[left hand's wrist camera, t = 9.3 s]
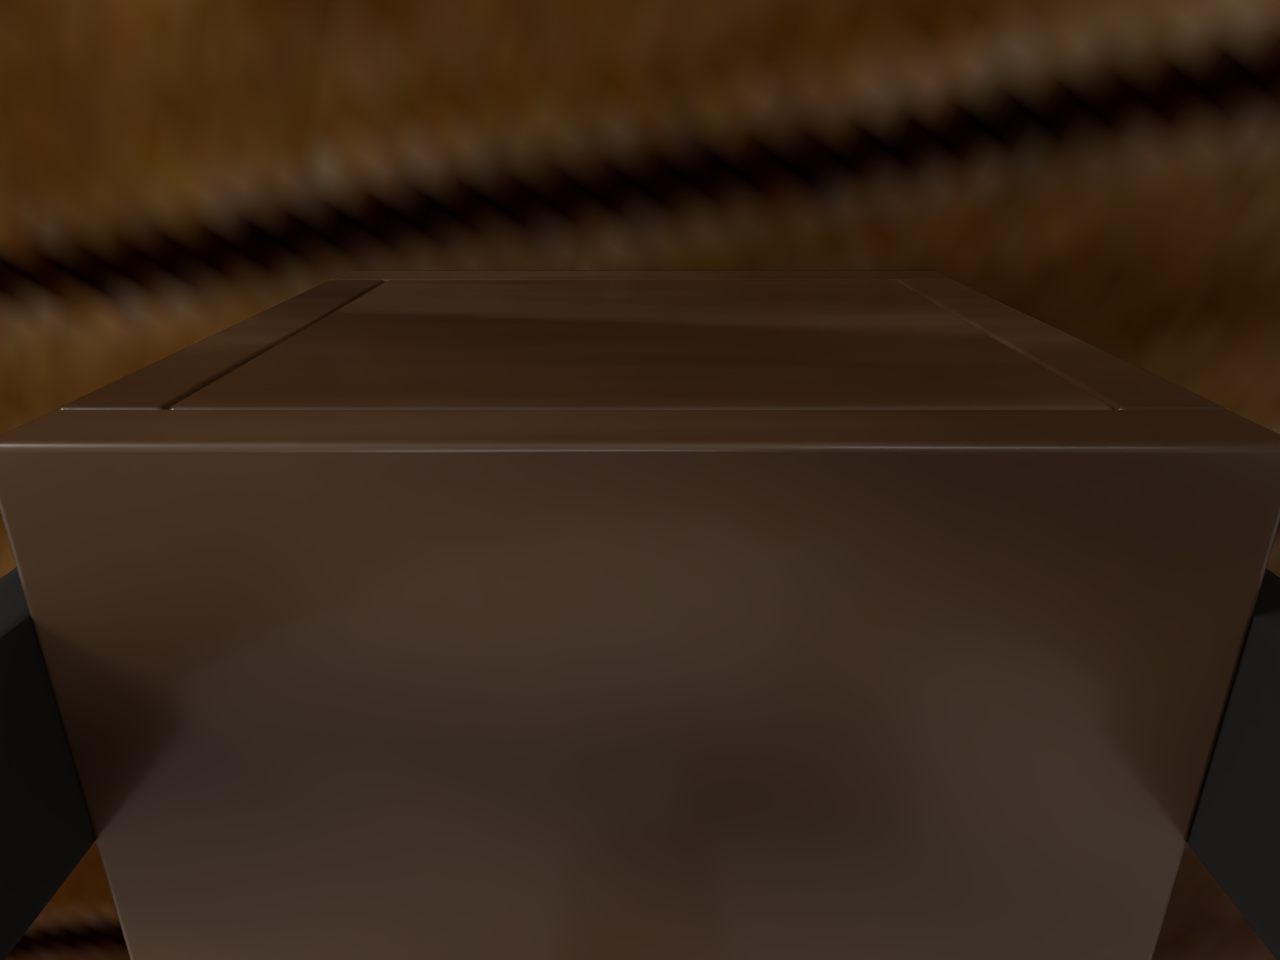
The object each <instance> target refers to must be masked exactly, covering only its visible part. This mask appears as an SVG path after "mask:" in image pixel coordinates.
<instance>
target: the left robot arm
mask: <svg viewBox="0 0 1280 960" xmlns="http://www.w3.org/2000/svg"><path fill="white" fill-rule="evenodd" d="M95 840H96V839H95V835H94V832H93V828H92V825H91V822H90V818H89V815H88V811H87V808H86V804H85V801H84V797H83V794H82V791H81V787H80V784H79V780H78V777H77V773H76V770H75V767H74V763H73V760H72V756H71V753H70V749H69V746H68V743H67V739H66V736H65V732H64V729H63V725H62V722H61V718H60V715H59V712H58V708H57V705H56V701H55V698H54V694H53V691H52V688H51V684H50V681H49V677H48V674H47V670H46V667H45V664H44V660H43V657H42V653H41V650H40V646H39V643H38V639H37V636H36V633H35V629H34V626H33V622H32V619H31V615H30V612H29V609H28V605H27V602H26V598H25V595H24V591H23V588H22V585H21V581H20V578H19V574H18V571H17V567H16V568H15V569H13V570H12V571H11V572H9V573H8V574H6V575H5V576H4V577H2V578H1V579H0V960H5V958H6V957H7V956H8V954H9V953H10V952H11V950H12V949H13V948H14V946H15V945H16V944H17V942H18V941H19V940H20V938H21V937H22V936H23V935H24V933H25V932H26V931H27V929H28V928H29V927H30V925H31V924H32V923H33V921H34V920H35V919H36V917H37V916H38V915H39V914H40V912H41V911H42V910H43V908H44V907H45V906H46V904H47V903H48V902H49V900H50V899H51V898H52V896H53V895H54V894H55V893H56V891H57V890H58V889H59V887H60V886H61V885H62V883H63V882H64V881H65V879H66V878H67V877H68V875H69V874H70V873H71V872H72V870H73V869H74V868H75V866H76V865H77V864H78V862H79V861H80V860H81V858H82V857H83V856H84V854H85V853H86V852H87V851H88V849H89V848H90V847H91V845H92V844H93V843H94V841H95ZM1187 843H1188V844H1189V845H1190V846H1191V848H1192V849H1193V850H1194V852H1195V853H1196V854H1197V856H1198V857H1199V858H1200V860H1201V861H1202V862H1203V864H1204V865H1205V866H1206V867H1207V869H1208V870H1209V871H1210V873H1211V874H1212V875H1213V877H1214V878H1215V879H1216V881H1217V882H1218V883H1219V885H1220V886H1221V887H1222V888H1223V890H1224V891H1225V892H1226V894H1227V895H1228V896H1229V898H1230V899H1231V900H1232V902H1233V903H1234V904H1235V906H1236V907H1237V908H1238V909H1239V911H1240V912H1241V913H1242V915H1243V916H1244V917H1245V919H1246V920H1247V921H1248V923H1249V924H1250V925H1251V927H1252V928H1253V929H1254V930H1255V932H1256V933H1257V934H1258V936H1259V937H1260V938H1261V940H1262V941H1263V942H1264V944H1265V945H1266V946H1267V948H1268V949H1269V950H1270V951H1271V953H1272V954H1273V955H1274V957H1275V958H1276V959H1277V960H1280V578H1279V577H1278V576H1276V575H1275V574H1273V573H1272V572H1271V571H1269V570H1268V569H1266V570H1265V574H1264V577H1263V581H1262V584H1261V587H1260V591H1259V594H1258V598H1257V601H1256V605H1255V608H1254V611H1253V615H1252V618H1251V622H1250V625H1249V629H1248V632H1247V635H1246V639H1245V642H1244V646H1243V649H1242V653H1241V656H1240V660H1239V663H1238V666H1237V670H1236V673H1235V677H1234V680H1233V684H1232V687H1231V690H1230V694H1229V697H1228V701H1227V704H1226V708H1225V711H1224V714H1223V718H1222V721H1221V725H1220V728H1219V732H1218V735H1217V739H1216V742H1215V745H1214V749H1213V752H1212V756H1211V759H1210V763H1209V766H1208V769H1207V773H1206V776H1205V780H1204V783H1203V787H1202V790H1201V793H1200V797H1199V800H1198V804H1197V807H1196V811H1195V814H1194V818H1193V821H1192V824H1191V828H1190V831H1189V835H1188V838H1187Z"/></svg>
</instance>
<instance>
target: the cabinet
mask: <svg viewBox="0 0 1280 960" xmlns="http://www.w3.org/2000/svg"><path fill="white" fill-rule="evenodd" d="M0 512H1V516H2V519H3V523H4V526H5V530H6V533H7V536H8V540H9V543H10V547H11V550H12V554H13V557H14V560H15V564H16V567H17V571H18V574H19V578H20V581H21V585H22V588H23V591H24V595H25V598H26V602H27V605H28V609H29V612H30V615H31V619H32V622H33V626H34V629H35V633H36V636H37V639H38V643H39V646H40V650H41V653H42V657H43V660H44V664H45V667H46V670H47V674H48V677H49V681H50V684H51V688H52V691H53V694H54V698H55V701H56V705H57V708H58V712H59V715H60V718H61V722H62V725H63V729H64V732H65V736H66V739H67V743H68V746H69V749H70V753H71V756H72V760H73V763H74V767H75V770H76V773H77V777H78V780H79V784H80V787H81V791H82V794H83V797H84V801H85V804H86V808H87V811H88V815H89V818H90V822H91V825H92V828H93V832H94V835H95V839H96V842H97V846H98V849H99V852H100V856H101V859H102V863H103V866H104V870H105V873H106V877H107V880H108V883H109V887H110V890H111V894H112V897H113V901H114V904H115V907H116V911H117V914H118V918H119V921H120V925H121V928H122V931H123V935H124V938H125V942H126V945H127V949H128V952H129V956H130V959H131V960H1152V958H1153V955H1154V951H1155V948H1156V945H1157V941H1158V938H1159V934H1160V931H1161V927H1162V924H1163V921H1164V917H1165V914H1166V910H1167V907H1168V903H1169V900H1170V897H1171V893H1172V890H1173V886H1174V883H1175V879H1176V876H1177V872H1178V869H1179V866H1180V862H1181V859H1182V855H1183V852H1184V848H1185V845H1186V842H1187V838H1188V835H1189V831H1190V828H1191V824H1192V821H1193V818H1194V814H1195V811H1196V807H1197V804H1198V800H1199V797H1200V793H1201V790H1202V787H1203V783H1204V780H1205V776H1206V773H1207V769H1208V766H1209V763H1210V759H1211V756H1212V752H1213V749H1214V745H1215V742H1216V739H1217V735H1218V732H1219V728H1220V725H1221V721H1222V718H1223V714H1224V711H1225V708H1226V704H1227V701H1228V697H1229V694H1230V690H1231V687H1232V684H1233V680H1234V677H1235V673H1236V670H1237V666H1238V663H1239V660H1240V656H1241V653H1242V649H1243V646H1244V642H1245V639H1246V635H1247V632H1248V629H1249V625H1250V622H1251V618H1252V615H1253V611H1254V608H1255V605H1256V601H1257V598H1258V594H1259V591H1260V587H1261V584H1262V581H1263V577H1264V574H1265V570H1266V567H1267V563H1268V560H1269V556H1270V553H1271V550H1272V546H1273V543H1274V539H1275V536H1276V532H1277V529H1278V526H1279V522H1280V435H1279V434H1277V433H1275V432H1273V431H1271V430H1269V429H1267V428H1264V427H1262V426H1260V425H1258V424H1256V423H1254V422H1252V421H1250V420H1248V419H1245V418H1243V417H1241V416H1239V415H1237V414H1235V413H1233V412H1230V411H1228V410H1225V408H1224V407H1222V406H1220V405H1218V404H1216V403H1214V402H1212V401H1210V400H1208V399H1205V398H1203V397H1201V396H1199V395H1197V394H1195V393H1193V392H1191V391H1188V390H1186V389H1184V388H1182V387H1180V386H1178V385H1176V384H1174V383H1171V382H1169V381H1167V380H1165V379H1163V378H1161V377H1159V376H1157V375H1154V374H1152V373H1150V372H1148V371H1146V370H1144V369H1142V368H1140V367H1137V366H1135V365H1133V364H1131V363H1129V362H1127V361H1125V360H1123V359H1120V358H1118V357H1116V356H1114V355H1112V354H1110V353H1108V352H1106V351H1103V350H1101V349H1099V348H1097V347H1095V346H1093V345H1091V344H1089V343H1086V342H1084V341H1082V340H1080V339H1078V338H1076V337H1074V336H1072V335H1069V334H1067V333H1065V332H1063V331H1061V330H1059V329H1057V328H1055V327H1052V326H1050V325H1048V324H1046V323H1044V322H1042V321H1040V320H1038V319H1036V318H1033V317H1031V316H1029V315H1027V314H1025V313H1023V312H1021V311H1019V310H1016V309H1014V308H1012V307H1010V306H1008V305H1006V304H1004V303H1002V302H999V301H997V300H995V299H993V298H991V297H989V296H987V295H985V294H982V293H980V292H978V291H976V290H974V289H972V288H970V287H968V286H965V285H963V284H961V283H959V282H957V281H955V280H953V279H951V278H949V277H947V276H945V275H943V274H941V273H939V272H936V271H347V272H345V273H343V274H341V275H338V276H336V277H334V278H332V279H330V281H327V282H325V283H323V284H321V285H319V286H317V287H315V288H313V289H310V290H308V291H306V292H304V293H302V294H300V295H298V296H296V297H293V298H291V299H289V300H287V301H285V302H283V303H281V304H279V305H276V306H274V307H272V308H270V309H268V310H266V311H264V312H262V313H259V314H257V315H255V316H253V317H251V318H249V319H247V320H245V321H242V322H240V323H238V324H236V325H234V326H232V327H230V328H228V329H225V330H223V331H221V332H219V333H217V334H215V335H213V336H211V337H208V338H206V339H204V340H202V341H200V342H198V343H196V344H194V345H191V346H189V347H187V348H185V349H183V350H181V351H179V352H176V353H174V354H172V355H170V356H168V357H166V358H164V359H162V360H159V361H157V362H155V363H153V364H151V365H149V366H147V367H145V368H142V369H140V370H138V371H136V372H134V373H132V374H130V375H128V376H125V377H123V378H121V379H119V380H117V381H115V382H113V383H111V384H108V385H106V386H104V387H102V388H100V389H98V390H96V391H94V392H91V393H89V394H87V395H85V396H83V397H81V398H79V399H77V400H74V401H72V402H70V403H68V404H66V405H64V406H62V407H60V409H59V410H54V411H52V412H50V413H47V414H45V415H43V416H41V417H39V418H37V419H35V420H33V421H30V422H28V423H26V424H24V425H22V426H20V427H18V428H16V429H13V430H11V431H9V432H7V433H5V434H3V435H1V436H0Z"/></svg>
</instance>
